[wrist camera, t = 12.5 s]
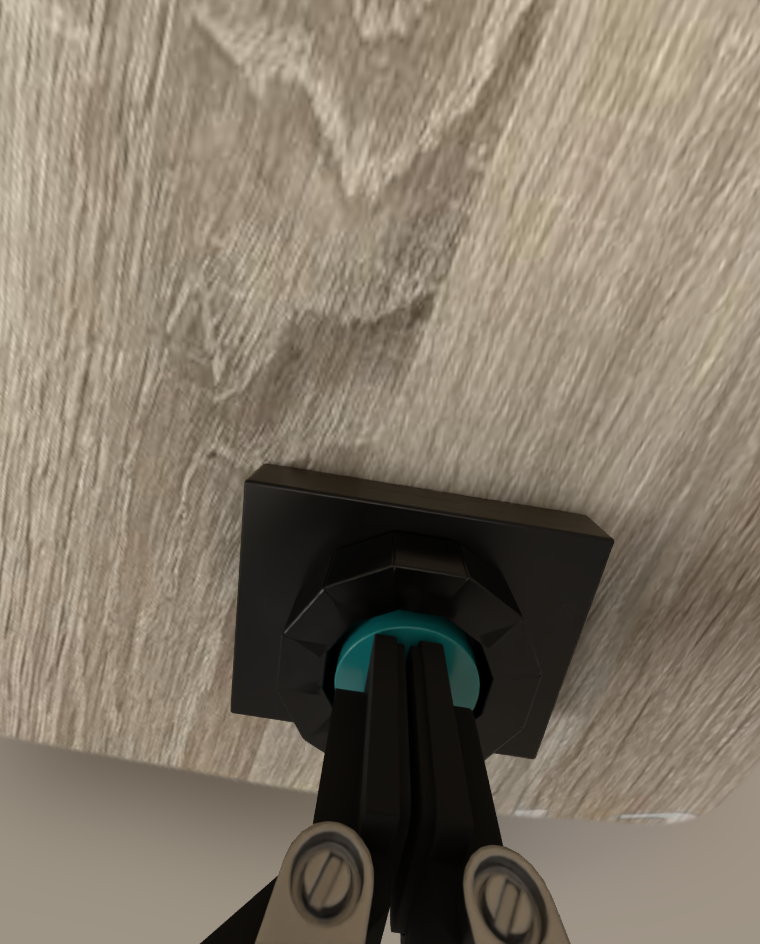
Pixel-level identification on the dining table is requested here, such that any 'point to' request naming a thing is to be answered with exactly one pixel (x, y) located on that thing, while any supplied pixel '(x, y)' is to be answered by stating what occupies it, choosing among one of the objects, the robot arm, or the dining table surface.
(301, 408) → the dining table surface
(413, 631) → the button
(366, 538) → the button block
